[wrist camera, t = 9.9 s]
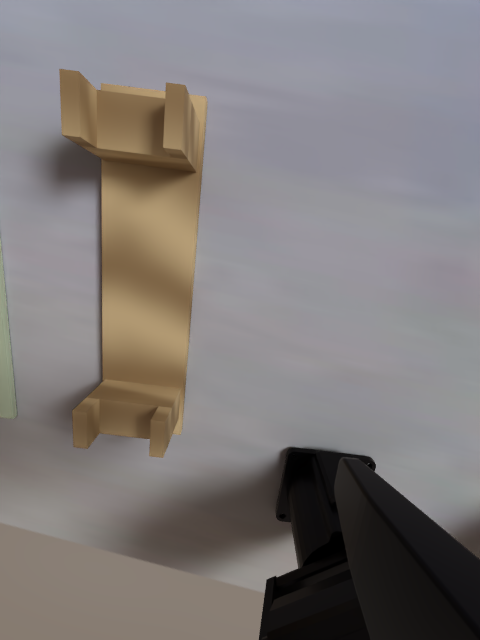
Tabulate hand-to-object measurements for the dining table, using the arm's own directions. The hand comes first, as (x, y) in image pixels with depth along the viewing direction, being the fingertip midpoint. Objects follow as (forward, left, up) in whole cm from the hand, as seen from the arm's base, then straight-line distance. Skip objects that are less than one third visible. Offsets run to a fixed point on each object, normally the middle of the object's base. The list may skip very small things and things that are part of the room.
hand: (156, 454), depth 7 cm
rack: (+2, +4, -12) cm, 13 cm away
